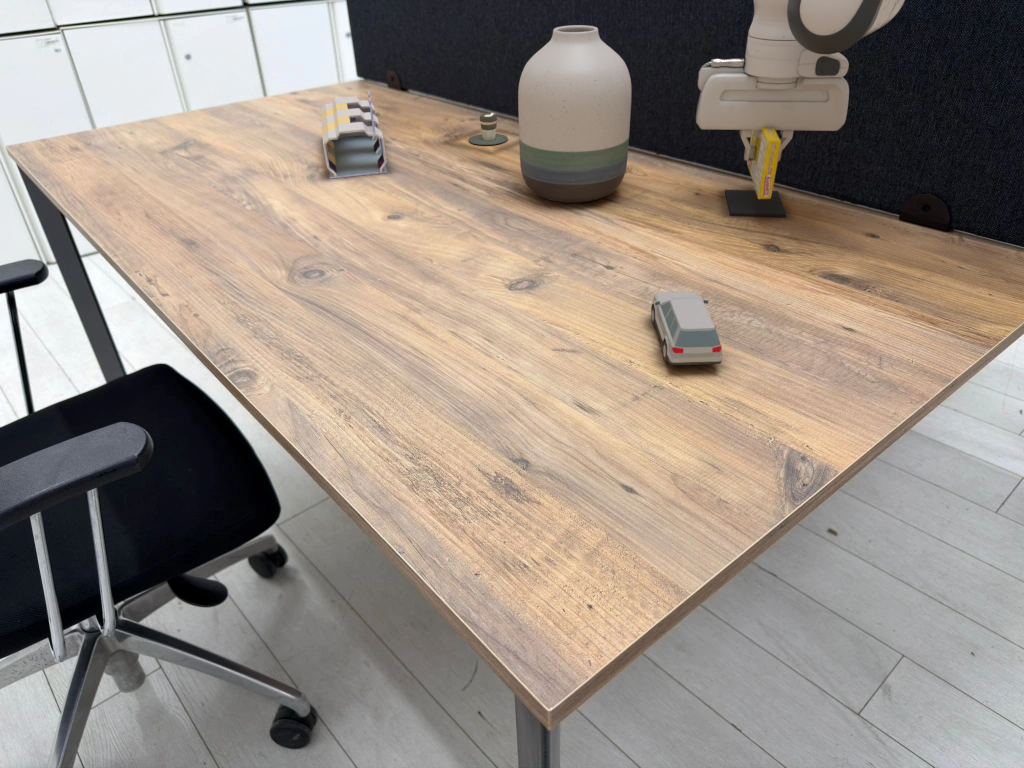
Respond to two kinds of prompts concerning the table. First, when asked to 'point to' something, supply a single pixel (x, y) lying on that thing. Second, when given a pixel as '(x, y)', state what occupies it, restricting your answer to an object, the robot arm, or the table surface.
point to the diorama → (352, 138)
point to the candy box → (764, 161)
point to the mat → (754, 204)
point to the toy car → (685, 329)
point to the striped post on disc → (488, 131)
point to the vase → (574, 117)
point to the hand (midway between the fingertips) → (761, 159)
